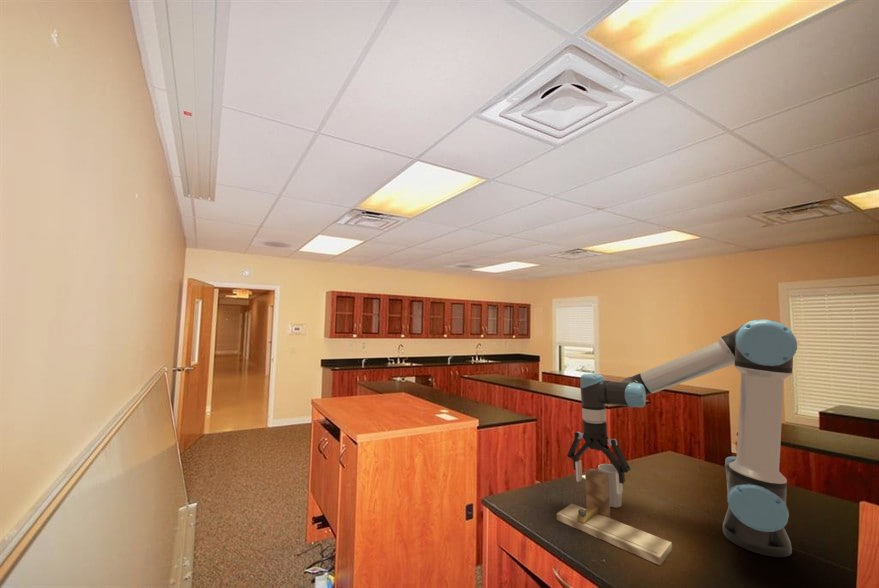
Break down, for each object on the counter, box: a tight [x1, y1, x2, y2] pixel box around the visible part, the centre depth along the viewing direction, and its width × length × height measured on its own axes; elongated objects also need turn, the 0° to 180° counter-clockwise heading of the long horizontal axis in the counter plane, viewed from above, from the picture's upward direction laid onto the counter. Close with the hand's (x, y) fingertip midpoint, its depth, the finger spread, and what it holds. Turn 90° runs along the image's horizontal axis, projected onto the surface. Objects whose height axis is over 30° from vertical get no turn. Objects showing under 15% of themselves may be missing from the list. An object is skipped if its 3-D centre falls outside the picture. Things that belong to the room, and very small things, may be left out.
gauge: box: [577, 468, 611, 523], centre depth 116 cm, size 6×14×14 cm, turn 132°
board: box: [556, 503, 673, 566], centre depth 109 cm, size 30×10×2 cm, turn 41°
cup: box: [597, 463, 623, 508], centre depth 128 cm, size 8×8×12 cm
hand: (598, 486), depth 119 cm, fingers open, 13 cm apart
